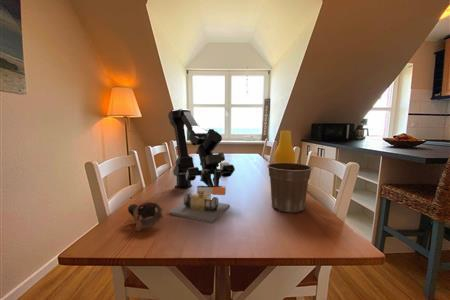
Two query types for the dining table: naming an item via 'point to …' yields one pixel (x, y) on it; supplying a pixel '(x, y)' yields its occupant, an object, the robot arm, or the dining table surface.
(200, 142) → the robot arm
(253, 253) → the dining table surface
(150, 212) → the pottery mug
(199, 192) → the valve lever
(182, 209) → the rubber mat
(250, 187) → the dining table surface
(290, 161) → the yellow bottle
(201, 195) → the valve body
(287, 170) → the plant pot
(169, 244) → the dining table surface
